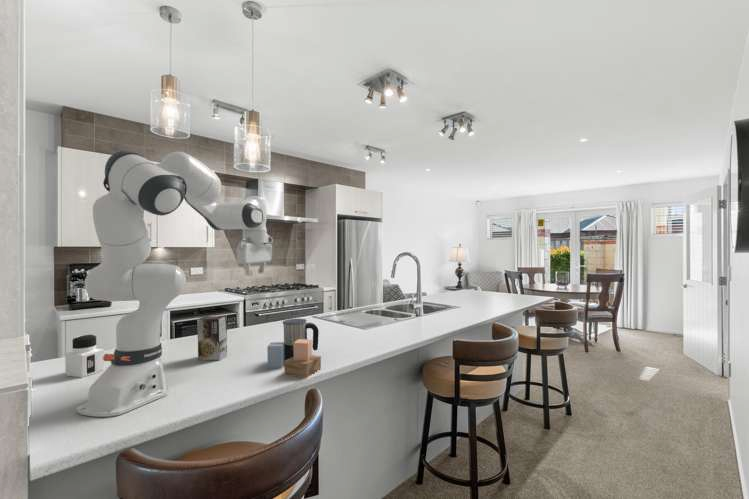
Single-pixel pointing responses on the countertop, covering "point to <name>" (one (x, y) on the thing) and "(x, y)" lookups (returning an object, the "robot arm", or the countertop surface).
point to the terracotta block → (302, 349)
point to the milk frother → (297, 335)
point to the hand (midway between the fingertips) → (255, 274)
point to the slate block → (276, 355)
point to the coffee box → (212, 337)
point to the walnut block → (302, 366)
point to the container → (84, 357)
